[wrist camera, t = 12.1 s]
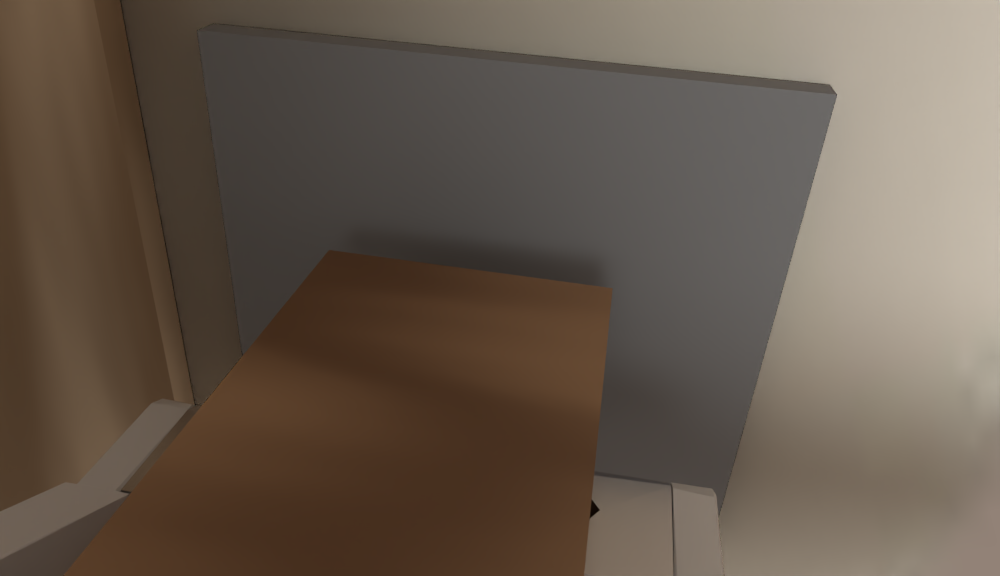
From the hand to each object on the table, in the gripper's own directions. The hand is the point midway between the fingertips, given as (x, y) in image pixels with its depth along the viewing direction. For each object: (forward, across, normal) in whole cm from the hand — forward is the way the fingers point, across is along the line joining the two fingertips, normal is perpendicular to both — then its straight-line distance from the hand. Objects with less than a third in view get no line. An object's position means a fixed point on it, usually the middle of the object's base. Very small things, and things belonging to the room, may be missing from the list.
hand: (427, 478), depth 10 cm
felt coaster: (+4, 0, 0) cm, 4 cm away
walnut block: (+2, 0, 0) cm, 2 cm away
